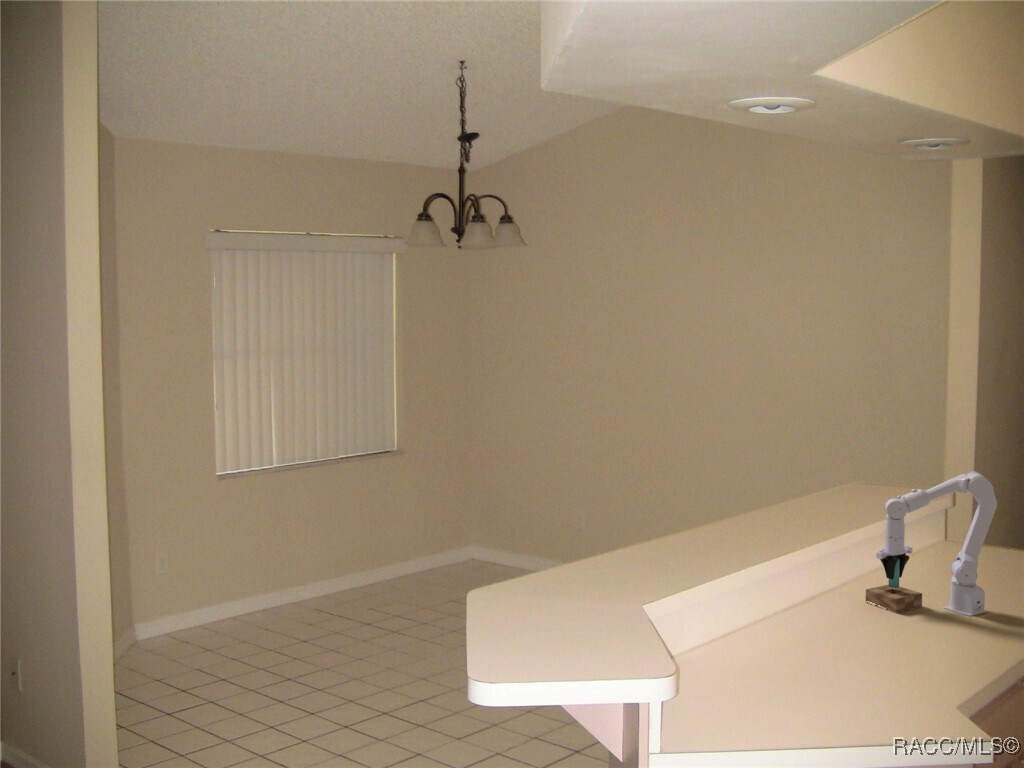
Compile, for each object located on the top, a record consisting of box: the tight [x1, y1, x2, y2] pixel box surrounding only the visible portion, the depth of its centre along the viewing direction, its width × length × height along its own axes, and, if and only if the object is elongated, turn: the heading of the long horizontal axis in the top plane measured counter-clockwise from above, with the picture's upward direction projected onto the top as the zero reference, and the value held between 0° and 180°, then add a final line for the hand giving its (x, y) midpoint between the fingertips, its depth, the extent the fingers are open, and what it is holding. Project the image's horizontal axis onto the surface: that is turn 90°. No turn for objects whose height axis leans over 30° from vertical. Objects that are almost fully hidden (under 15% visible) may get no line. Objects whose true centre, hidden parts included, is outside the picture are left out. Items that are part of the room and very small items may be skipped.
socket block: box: [865, 584, 923, 614], centre depth 304 cm, size 12×12×4 cm
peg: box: [887, 558, 900, 588], centre depth 303 cm, size 3×3×9 cm
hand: (894, 577), depth 303 cm, fingers closed on peg, 3 cm apart
